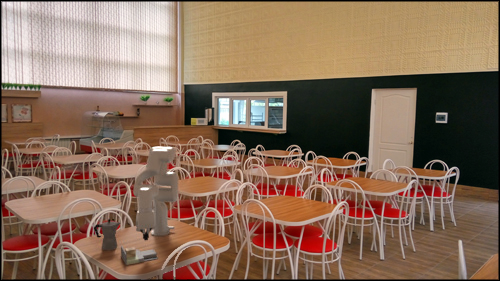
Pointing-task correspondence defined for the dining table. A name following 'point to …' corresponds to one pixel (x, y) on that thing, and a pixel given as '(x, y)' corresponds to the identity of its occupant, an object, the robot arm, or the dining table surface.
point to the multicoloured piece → (139, 256)
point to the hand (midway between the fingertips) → (145, 239)
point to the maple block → (130, 252)
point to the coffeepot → (108, 234)
